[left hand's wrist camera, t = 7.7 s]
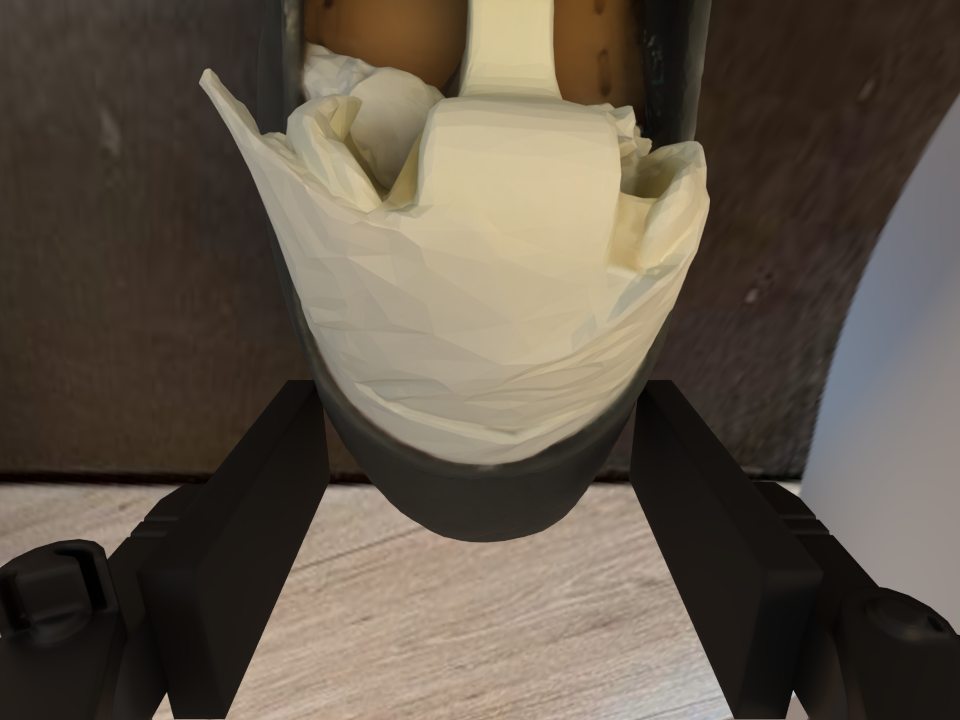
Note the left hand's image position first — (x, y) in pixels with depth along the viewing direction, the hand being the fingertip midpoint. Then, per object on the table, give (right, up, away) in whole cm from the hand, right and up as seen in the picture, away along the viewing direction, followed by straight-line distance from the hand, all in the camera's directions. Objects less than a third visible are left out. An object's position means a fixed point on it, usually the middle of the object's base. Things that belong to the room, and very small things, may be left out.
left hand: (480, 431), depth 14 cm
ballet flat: (0, +9, -2) cm, 9 cm away
